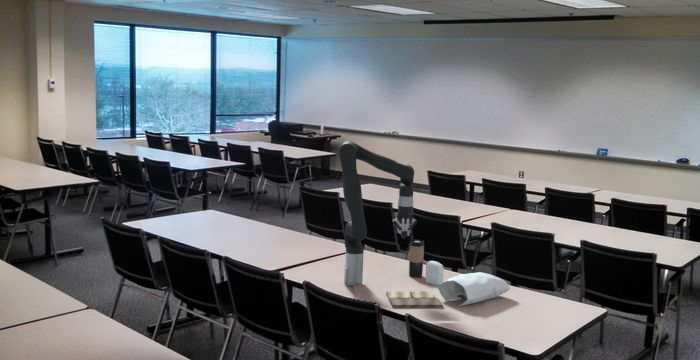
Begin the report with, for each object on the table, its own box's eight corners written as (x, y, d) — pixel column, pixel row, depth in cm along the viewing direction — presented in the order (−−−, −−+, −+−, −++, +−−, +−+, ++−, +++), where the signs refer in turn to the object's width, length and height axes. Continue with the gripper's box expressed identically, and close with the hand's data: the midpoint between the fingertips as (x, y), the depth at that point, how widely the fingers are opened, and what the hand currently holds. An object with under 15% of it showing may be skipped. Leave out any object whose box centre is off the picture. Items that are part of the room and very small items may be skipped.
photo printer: (424, 282, 341) (425, 259, 339) (429, 280, 344) (430, 258, 342) (438, 287, 333) (439, 264, 332) (443, 286, 336) (445, 263, 334)
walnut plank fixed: (392, 307, 298) (392, 304, 297) (389, 301, 306) (389, 298, 306) (442, 307, 300) (442, 304, 300) (438, 301, 309) (438, 298, 309)
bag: (515, 293, 318) (476, 291, 294) (488, 313, 327) (447, 314, 303) (497, 261, 328) (457, 257, 304) (470, 282, 337) (430, 280, 313)
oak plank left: (388, 300, 307) (389, 297, 307) (386, 294, 316) (386, 291, 316) (411, 300, 308) (411, 297, 308) (407, 294, 317) (407, 291, 317)
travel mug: (423, 275, 354) (425, 240, 351) (420, 278, 347) (422, 243, 344) (410, 273, 356) (412, 238, 353) (407, 277, 349) (408, 241, 346)
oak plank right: (413, 300, 308) (413, 297, 308) (409, 294, 317) (409, 291, 317) (435, 300, 310) (435, 297, 309) (431, 294, 318) (431, 291, 318)
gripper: (393, 205, 318) (392, 239, 320) (420, 206, 319) (418, 239, 322) (391, 203, 325) (389, 236, 328) (416, 203, 326) (415, 236, 329)
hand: (403, 237), depth 325 cm, fingers closed
